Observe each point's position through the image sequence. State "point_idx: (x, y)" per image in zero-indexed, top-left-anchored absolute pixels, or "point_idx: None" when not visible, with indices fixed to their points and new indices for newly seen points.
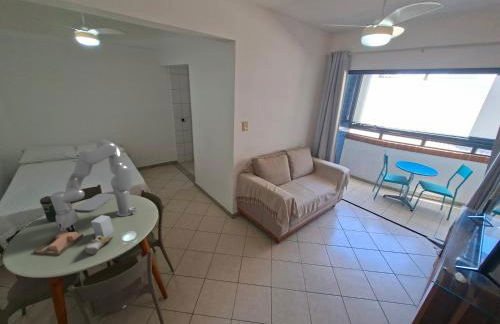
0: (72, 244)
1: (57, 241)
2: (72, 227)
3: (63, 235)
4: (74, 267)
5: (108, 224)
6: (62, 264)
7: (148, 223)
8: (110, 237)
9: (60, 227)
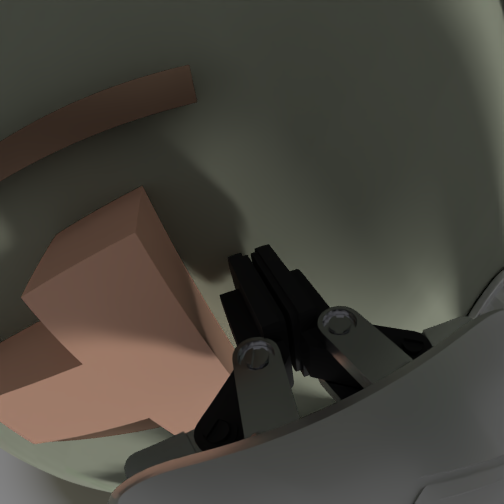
0: None
1: (43, 413)
2: (316, 374)
3: (126, 374)
4: (95, 487)
5: None
6: (58, 463)
7: None
8: None
9: (161, 498)
